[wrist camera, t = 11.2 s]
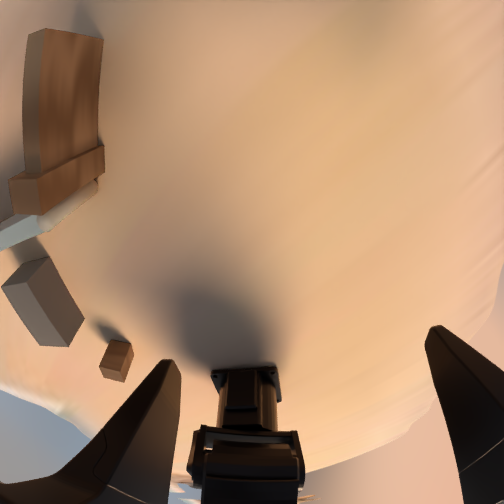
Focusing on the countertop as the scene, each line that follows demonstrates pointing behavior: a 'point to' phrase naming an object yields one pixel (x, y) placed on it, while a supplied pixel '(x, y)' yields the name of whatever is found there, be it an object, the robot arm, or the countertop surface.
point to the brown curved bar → (62, 137)
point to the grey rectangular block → (44, 303)
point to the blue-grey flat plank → (42, 218)
